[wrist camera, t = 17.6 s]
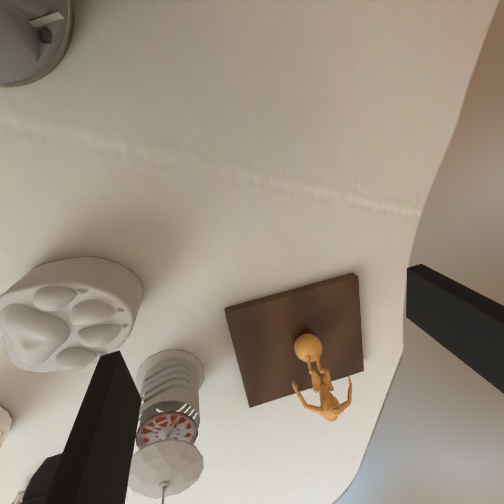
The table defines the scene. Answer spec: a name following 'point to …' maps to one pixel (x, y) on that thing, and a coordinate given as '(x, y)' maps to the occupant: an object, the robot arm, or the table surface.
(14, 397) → the table surface
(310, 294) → the walnut board
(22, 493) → the woman figurine
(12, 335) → the lumpy-topped squat cylinder
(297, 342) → the figurine
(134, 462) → the french press
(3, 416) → the white cup
